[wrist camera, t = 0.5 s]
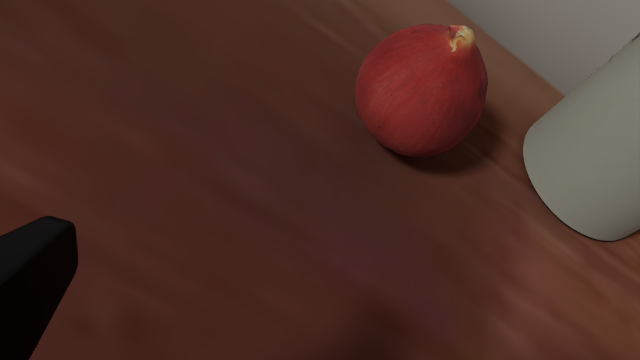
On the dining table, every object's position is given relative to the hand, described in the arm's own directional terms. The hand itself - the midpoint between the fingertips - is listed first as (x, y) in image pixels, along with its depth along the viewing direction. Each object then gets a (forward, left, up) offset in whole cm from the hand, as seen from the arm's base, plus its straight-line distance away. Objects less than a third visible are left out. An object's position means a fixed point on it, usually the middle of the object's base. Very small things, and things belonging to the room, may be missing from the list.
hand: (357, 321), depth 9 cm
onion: (+17, -5, -15) cm, 23 cm away
